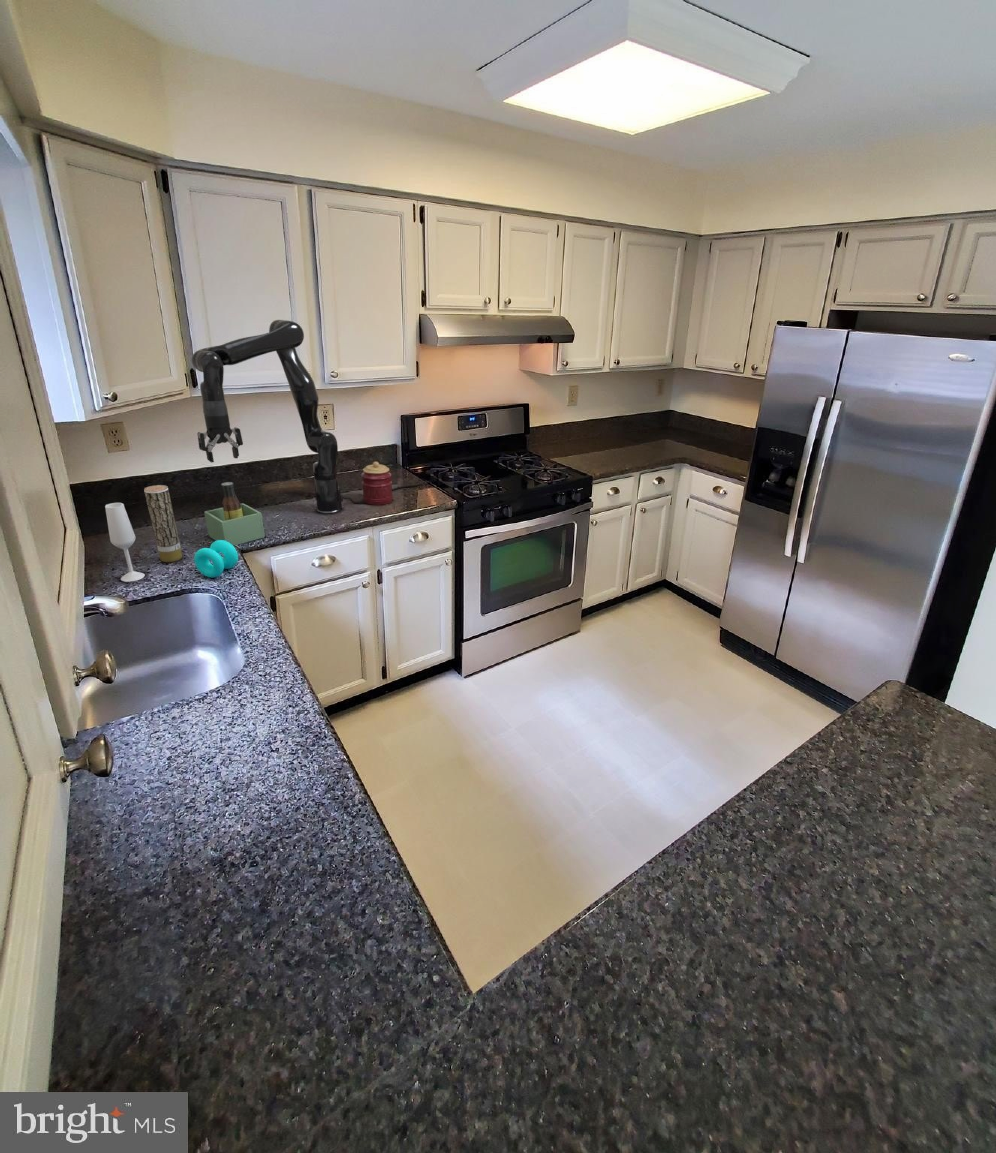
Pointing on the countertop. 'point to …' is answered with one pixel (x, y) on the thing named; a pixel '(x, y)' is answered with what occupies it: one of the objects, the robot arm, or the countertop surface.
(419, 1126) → the countertop surface
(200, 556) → the turquoise yo-yo
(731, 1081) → the countertop surface
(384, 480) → the kitchen canister
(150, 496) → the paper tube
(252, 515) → the bin
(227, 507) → the sauce bottle
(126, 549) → the champagne flute
